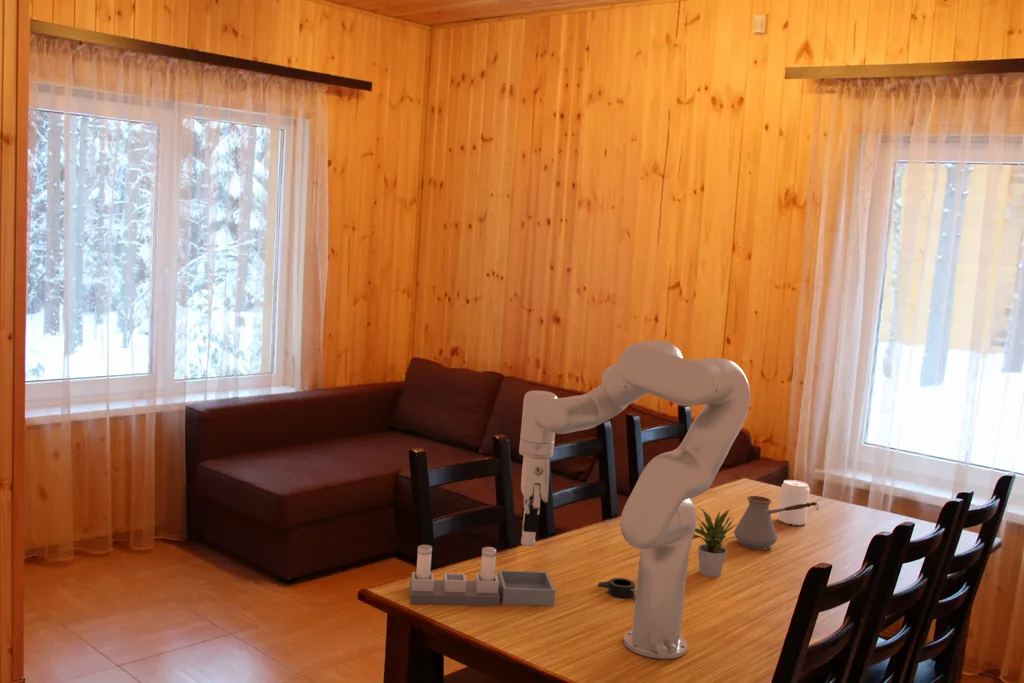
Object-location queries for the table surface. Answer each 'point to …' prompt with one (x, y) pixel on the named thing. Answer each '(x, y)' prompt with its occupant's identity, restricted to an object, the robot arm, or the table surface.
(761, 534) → the coffee pot
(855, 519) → the table surface
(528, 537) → the marked fuse
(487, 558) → the fuse right
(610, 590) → the black ring with handle
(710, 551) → the house plant
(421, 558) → the fuse left
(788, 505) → the beverage can
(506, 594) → the tray
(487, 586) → the block
